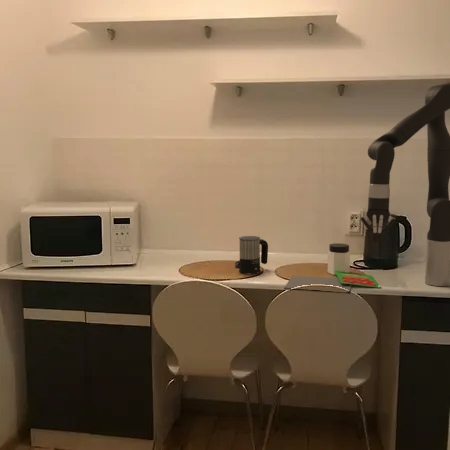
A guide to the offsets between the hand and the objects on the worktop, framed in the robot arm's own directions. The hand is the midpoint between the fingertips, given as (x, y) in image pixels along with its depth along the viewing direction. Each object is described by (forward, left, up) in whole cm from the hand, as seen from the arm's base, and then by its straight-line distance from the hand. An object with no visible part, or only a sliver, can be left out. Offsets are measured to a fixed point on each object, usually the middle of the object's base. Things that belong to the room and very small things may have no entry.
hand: (376, 242), depth 218 cm
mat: (+21, 0, -17) cm, 27 cm away
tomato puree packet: (+5, +1, -17) cm, 17 cm away
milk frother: (+54, -18, -18) cm, 60 cm away
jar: (+15, -21, -18) cm, 32 cm away
